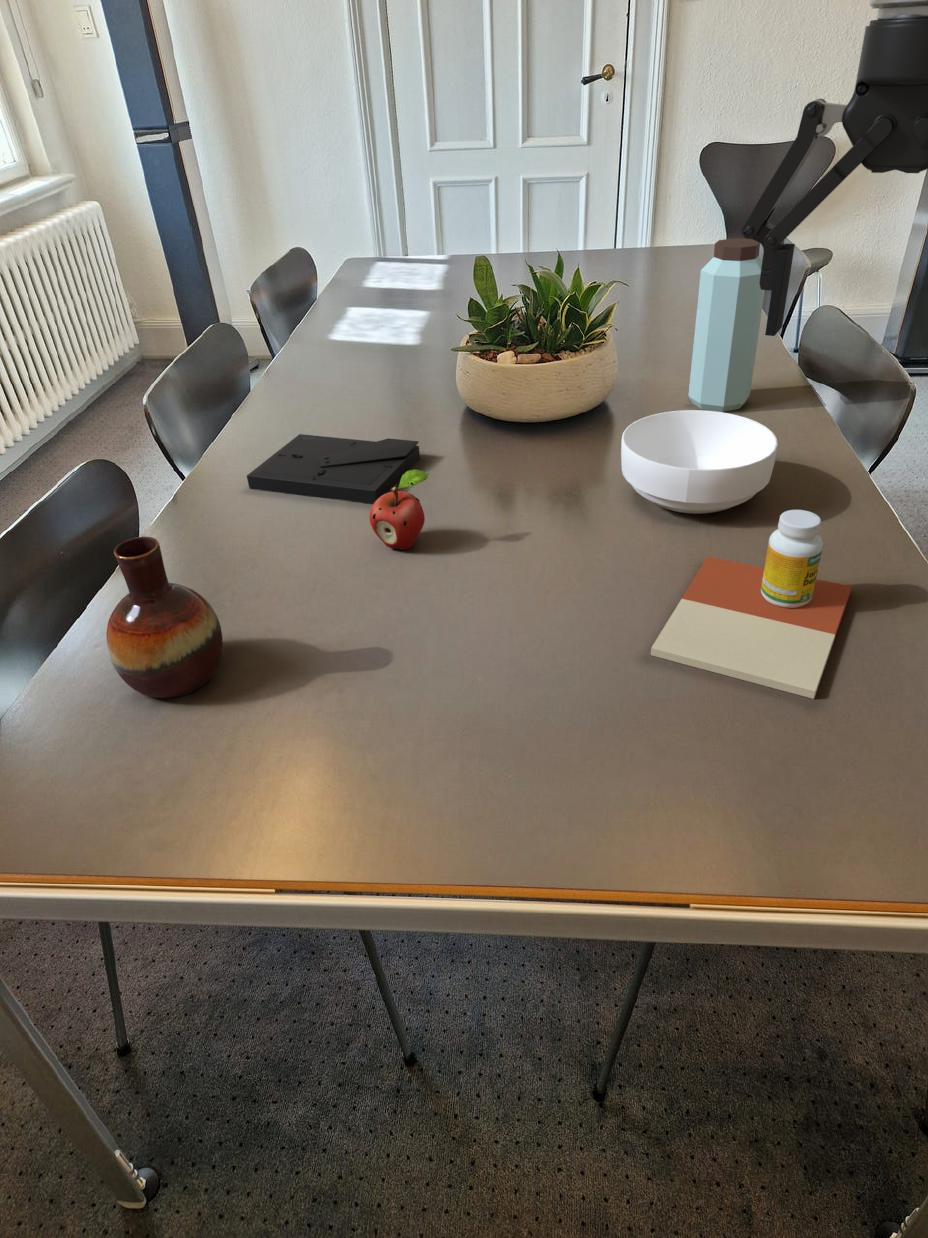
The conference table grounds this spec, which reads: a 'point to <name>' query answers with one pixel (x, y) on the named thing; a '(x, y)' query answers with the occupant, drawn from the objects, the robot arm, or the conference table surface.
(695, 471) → the bowl
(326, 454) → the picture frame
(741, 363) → the water bottle
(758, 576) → the sorting mat
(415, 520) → the apple
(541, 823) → the conference table surface
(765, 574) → the supplement bottle
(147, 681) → the vase
